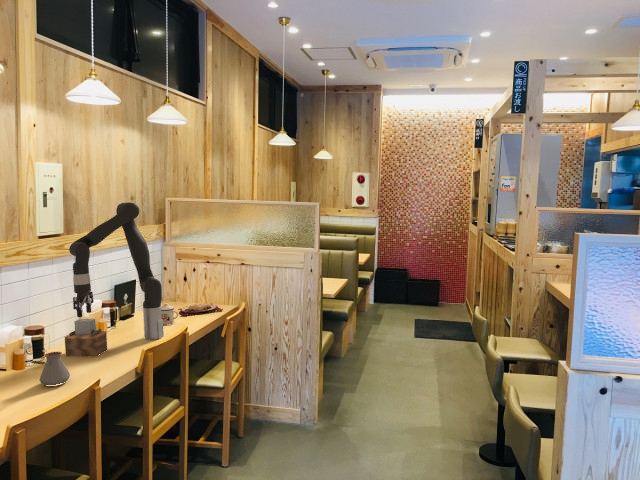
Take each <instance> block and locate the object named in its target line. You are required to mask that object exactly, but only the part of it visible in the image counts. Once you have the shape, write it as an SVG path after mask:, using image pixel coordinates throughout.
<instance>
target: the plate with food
mask: <svg viewBox="0 0 640 480" xmlns="http://www.w3.org/2000/svg"><path fill="white" fill-rule="evenodd" d="M177 311H178V314H180V315H181V316H194V315H199V314H200V315H201V314H205V312H207V313H208V314H213V313H218V312H222V311H224V309H223V308H220V307H219V306H218V305H217V304H216V305H215V304H214V303H208V304H205V303H203V304H202V303H200V304H191V305H186V306H184V307H182V308H177ZM203 312H204V313H203Z"/></svg>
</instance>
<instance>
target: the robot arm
mask: <svg viewBox="0 0 640 480" xmlns="http://www.w3.org/2000/svg"><path fill="white" fill-rule="evenodd" d="M139 215H140V208H139V205H137V204H136V203H134V202H132V201H130V202H121V203H118V205H117V206H116V214H115V215H114V216H113V217H111V218H109V219H108V220H106V221H104V222H102V223H101V224H98V225H97V226H96V227H95V228H93V229H92V230H90V231H89V232H88V233H87V234H86V235H84V236H81V237H80V238H78V239H76V240H75V241H73V242H72V243H71V244H70V246H69V247H68V252H69V253H70V255H72V256H74V257H75V261H74V262H73V263H72V275H73V277H72V279H73V280H72V283H73V291H74V294H76V296H73V297H72V305H73V307H72V309H73V310H76V317H77V318H83V306H85V309H86V313H87V314H91V313H92V304H93V303H94V302H95V301H94V293H93V291H92V286H91V276H90V269H89V268H90V267H89V262H90V258H91V257H90V256H91V250H90V248H92V247H95V246H98V245H99V244H100V243H102V241H104V240H105V239H106V238H107V237H109V236H110V235H111V234H113V233H114V232H115V231H117V230H118V229H120V228H122V230H123V233H124V236H125V239H126V243H127V245H128V249H129V253H130V256H131V258H132V261H133V264H134V267H135V270H136V272H137V276H138V281H139V286H140V289H141V291H142V292H143V293H144V301H143V302H142V311H143V331H144V334H143V335H144V339H145V340H150V341H151V340H160V339H162V338H163V337H164V335H165V334H164V324H163V319H161V307H162V301H163V299H162V292H163V291H162V289H163V288H162V283H161V281H160V280H159V279H158V278H155V276H154V273H153V271H152V268H151V262H150V261H151V257H150V249H149V247H148V243H147V242H146V238H145V237H144V235H142V233H141V232H140V230H139V229H138V226H137V224H136V221H135V219H137V218H138V216H139Z"/></svg>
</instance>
